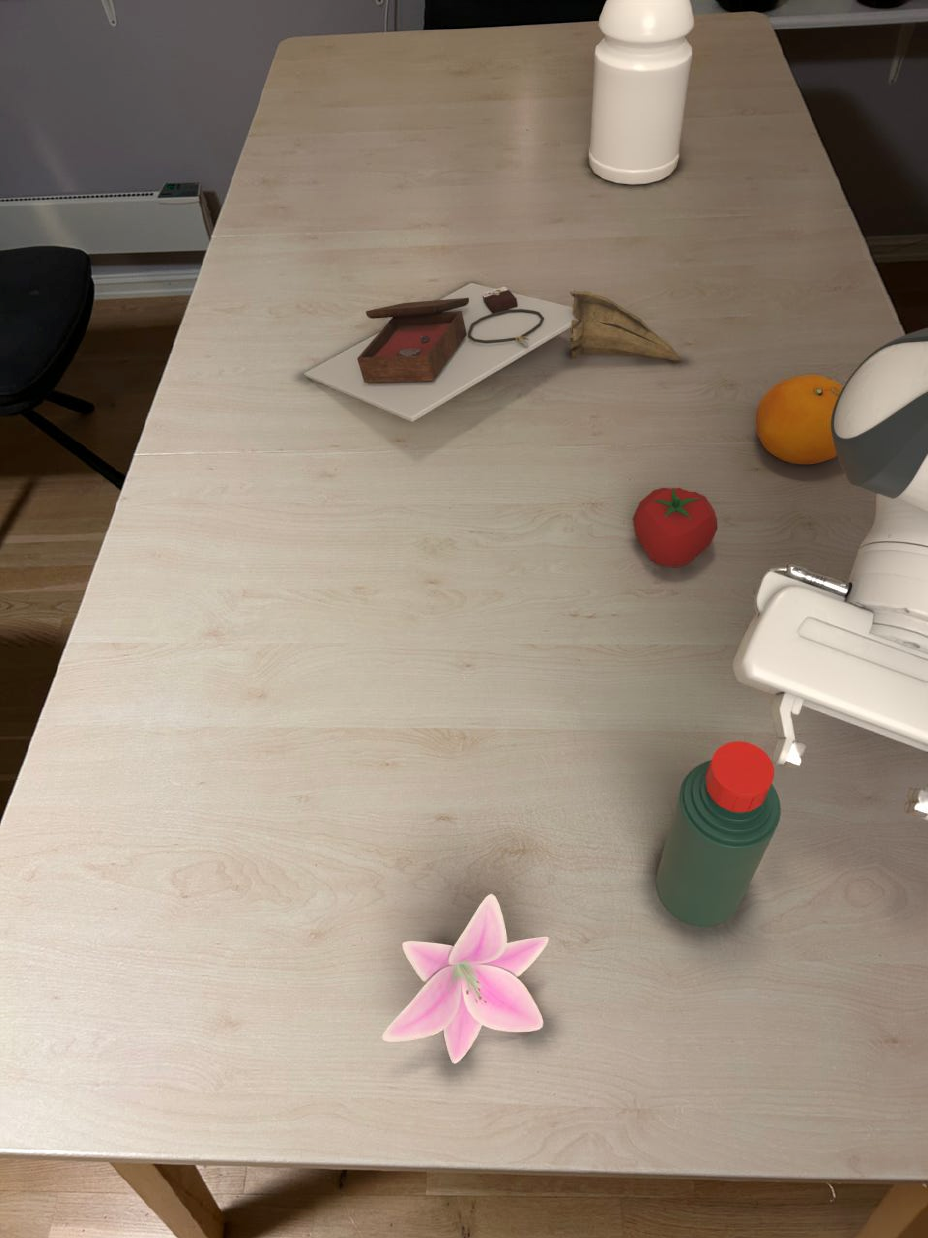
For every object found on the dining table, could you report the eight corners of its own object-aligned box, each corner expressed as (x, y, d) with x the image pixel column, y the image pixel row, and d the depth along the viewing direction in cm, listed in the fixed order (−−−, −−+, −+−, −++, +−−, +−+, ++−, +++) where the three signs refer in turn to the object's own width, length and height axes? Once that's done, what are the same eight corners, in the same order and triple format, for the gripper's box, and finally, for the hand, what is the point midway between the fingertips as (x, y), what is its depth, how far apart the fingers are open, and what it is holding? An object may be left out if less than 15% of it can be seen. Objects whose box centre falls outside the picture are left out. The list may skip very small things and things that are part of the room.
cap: (775, 776, 61) (783, 758, 59) (753, 823, 59) (760, 805, 57) (719, 750, 62) (725, 731, 60) (696, 795, 60) (701, 777, 58)
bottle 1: (578, 180, 144) (588, -32, 122) (598, 139, 152) (612, -66, 130) (669, 190, 141) (696, -25, 119) (685, 148, 149) (714, -61, 127)
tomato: (666, 589, 92) (675, 538, 87) (614, 541, 96) (620, 490, 91) (726, 553, 95) (739, 502, 89) (673, 508, 99) (682, 457, 93)
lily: (365, 1054, 68) (390, 1084, 59) (377, 886, 71) (402, 889, 62) (522, 1055, 70) (569, 1083, 61) (527, 893, 74) (572, 897, 65)
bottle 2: (754, 872, 74) (810, 754, 59) (722, 943, 70) (773, 837, 56) (677, 832, 76) (713, 710, 62) (642, 899, 73) (671, 787, 58)
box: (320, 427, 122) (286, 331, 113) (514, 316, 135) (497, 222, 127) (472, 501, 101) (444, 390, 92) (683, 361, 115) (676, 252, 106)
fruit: (859, 477, 101) (881, 418, 94) (760, 481, 101) (776, 422, 95) (834, 414, 107) (853, 356, 101) (742, 418, 107) (755, 360, 101)
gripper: (781, 544, 64) (716, 734, 62) (1079, 650, 62) (1020, 849, 60) (756, 564, 70) (696, 737, 68) (1026, 661, 68) (971, 842, 66)
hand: (850, 791), depth 64 cm, fingers open, 8 cm apart
